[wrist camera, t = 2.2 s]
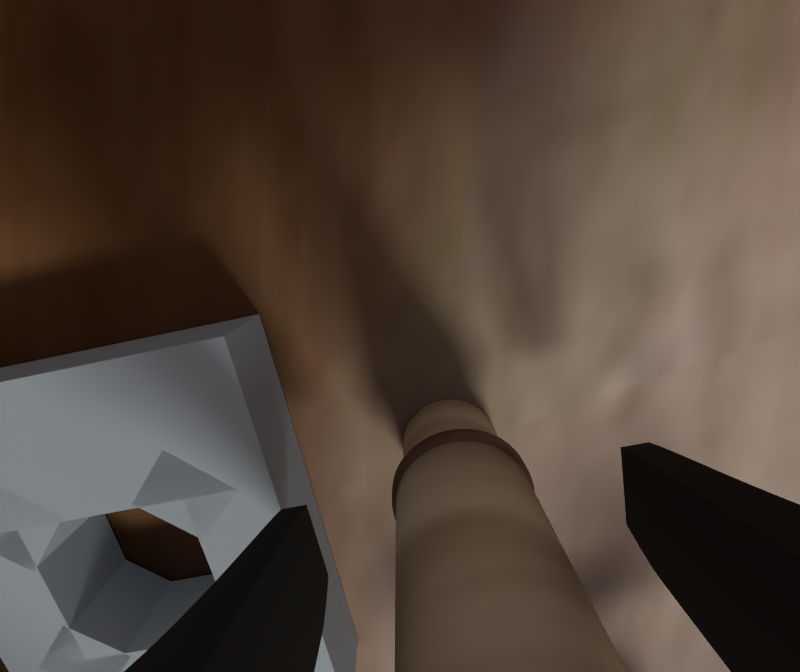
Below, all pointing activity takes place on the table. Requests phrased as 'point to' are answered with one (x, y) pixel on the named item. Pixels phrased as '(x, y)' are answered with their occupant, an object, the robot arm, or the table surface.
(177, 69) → the table surface
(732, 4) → the table surface
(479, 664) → the peg
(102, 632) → the board
